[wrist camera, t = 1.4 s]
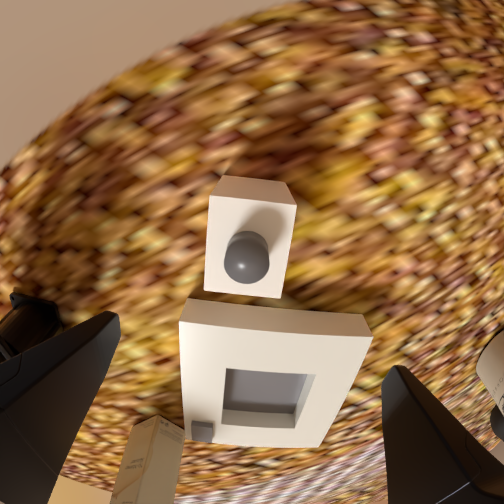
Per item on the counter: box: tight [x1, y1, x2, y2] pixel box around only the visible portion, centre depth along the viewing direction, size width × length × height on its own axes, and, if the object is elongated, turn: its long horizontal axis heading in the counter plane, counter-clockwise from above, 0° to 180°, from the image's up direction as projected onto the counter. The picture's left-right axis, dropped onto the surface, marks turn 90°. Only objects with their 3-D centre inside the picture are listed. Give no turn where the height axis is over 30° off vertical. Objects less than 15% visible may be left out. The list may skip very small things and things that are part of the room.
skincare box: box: [110, 415, 185, 504], centre depth 25 cm, size 6×4×12 cm
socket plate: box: [179, 298, 373, 448], centre depth 25 cm, size 14×16×4 cm
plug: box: [204, 175, 297, 298], centre depth 17 cm, size 4×5×8 cm
